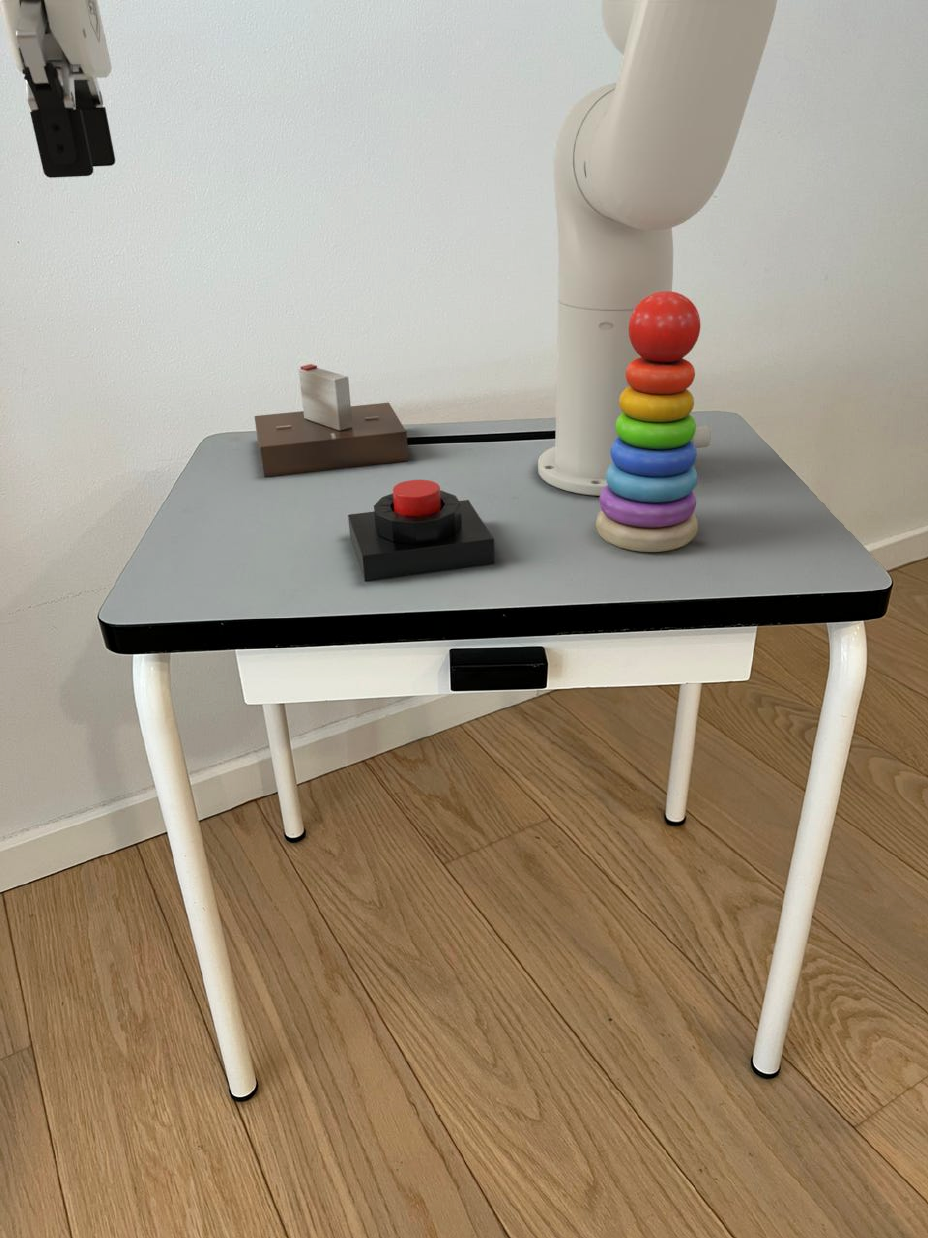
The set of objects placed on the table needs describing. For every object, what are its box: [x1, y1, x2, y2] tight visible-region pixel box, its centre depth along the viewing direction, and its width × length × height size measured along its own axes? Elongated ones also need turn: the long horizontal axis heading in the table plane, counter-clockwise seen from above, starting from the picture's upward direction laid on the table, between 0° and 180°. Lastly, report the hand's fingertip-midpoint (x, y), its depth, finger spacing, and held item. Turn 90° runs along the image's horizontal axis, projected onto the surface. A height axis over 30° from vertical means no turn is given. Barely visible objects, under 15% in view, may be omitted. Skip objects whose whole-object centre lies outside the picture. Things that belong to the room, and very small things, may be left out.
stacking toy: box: [595, 290, 701, 553], centre depth 71 cm, size 8×8×19 cm
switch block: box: [347, 489, 495, 583], centre depth 74 cm, size 10×8×4 cm
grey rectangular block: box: [298, 363, 353, 431], centre depth 93 cm, size 6×2×5 cm, turn 44°
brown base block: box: [254, 402, 409, 478], centre depth 95 cm, size 14×10×3 cm
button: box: [392, 479, 441, 516], centre depth 72 cm, size 4×4×2 cm
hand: (83, 170), depth 69 cm, fingers open, 9 cm apart
